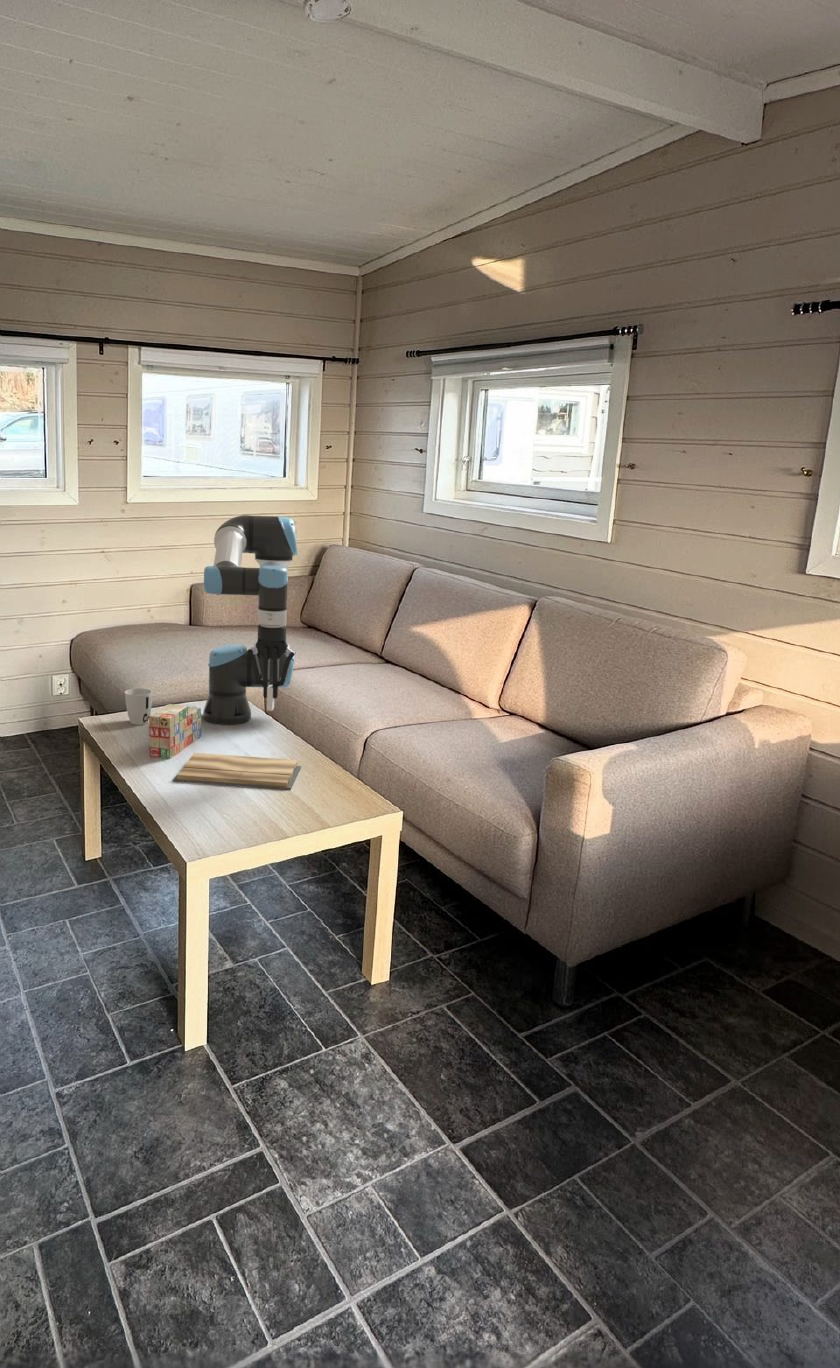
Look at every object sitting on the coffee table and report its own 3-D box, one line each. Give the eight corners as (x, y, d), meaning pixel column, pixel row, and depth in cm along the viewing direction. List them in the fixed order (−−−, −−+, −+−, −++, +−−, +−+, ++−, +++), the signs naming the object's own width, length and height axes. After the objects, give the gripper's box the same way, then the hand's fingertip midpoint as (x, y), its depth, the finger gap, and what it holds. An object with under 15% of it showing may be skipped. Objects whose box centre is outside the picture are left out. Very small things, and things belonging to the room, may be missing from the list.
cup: (148, 727, 279) (147, 696, 277) (121, 725, 279) (121, 694, 277) (156, 719, 287) (155, 689, 284) (130, 717, 287) (129, 687, 284)
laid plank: (183, 771, 243) (182, 767, 243) (290, 779, 243) (290, 775, 242) (176, 779, 238) (176, 774, 238) (287, 787, 237) (287, 782, 237)
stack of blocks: (182, 734, 275) (181, 695, 272) (201, 736, 274) (201, 697, 271) (149, 757, 254) (148, 715, 251) (170, 759, 254) (169, 717, 250)
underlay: (190, 759, 254) (190, 758, 254) (301, 767, 253) (301, 765, 253) (172, 781, 238) (172, 779, 237) (290, 789, 237) (290, 788, 237)
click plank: (194, 756, 253) (193, 752, 253) (297, 764, 253) (297, 760, 252) (183, 771, 244) (183, 766, 244) (291, 778, 243) (291, 774, 243)
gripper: (244, 625, 238) (243, 711, 245) (294, 629, 238) (291, 715, 244) (250, 620, 246) (249, 703, 252) (298, 623, 245) (296, 706, 252)
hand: (270, 709), depth 248 cm, fingers closed
